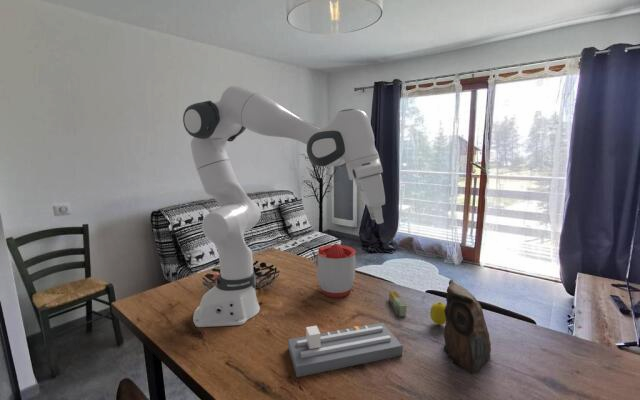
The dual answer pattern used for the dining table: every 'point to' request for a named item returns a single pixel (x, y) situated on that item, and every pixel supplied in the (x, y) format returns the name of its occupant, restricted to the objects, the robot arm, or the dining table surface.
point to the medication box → (397, 303)
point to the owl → (465, 330)
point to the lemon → (438, 313)
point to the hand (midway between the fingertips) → (377, 221)
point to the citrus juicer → (335, 269)
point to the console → (344, 349)
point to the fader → (313, 337)
